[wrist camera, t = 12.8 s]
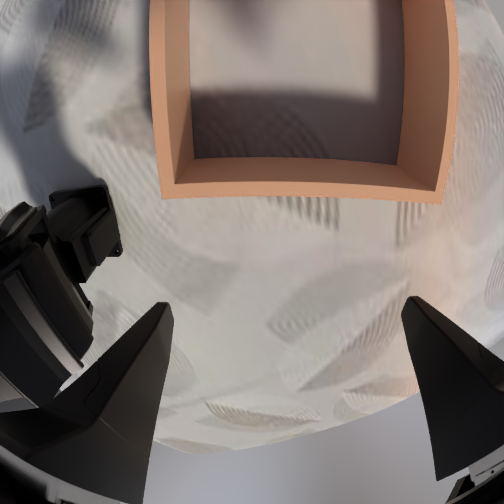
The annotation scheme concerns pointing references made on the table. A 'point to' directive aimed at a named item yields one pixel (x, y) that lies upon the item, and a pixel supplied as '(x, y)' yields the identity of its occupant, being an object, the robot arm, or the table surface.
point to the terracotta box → (313, 169)
